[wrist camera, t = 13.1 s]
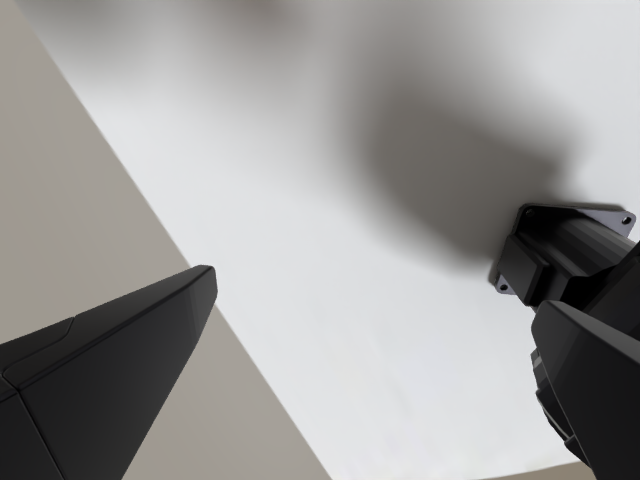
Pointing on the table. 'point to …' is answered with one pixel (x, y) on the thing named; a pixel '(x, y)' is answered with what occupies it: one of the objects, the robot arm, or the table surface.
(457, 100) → the table surface
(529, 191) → the table surface
